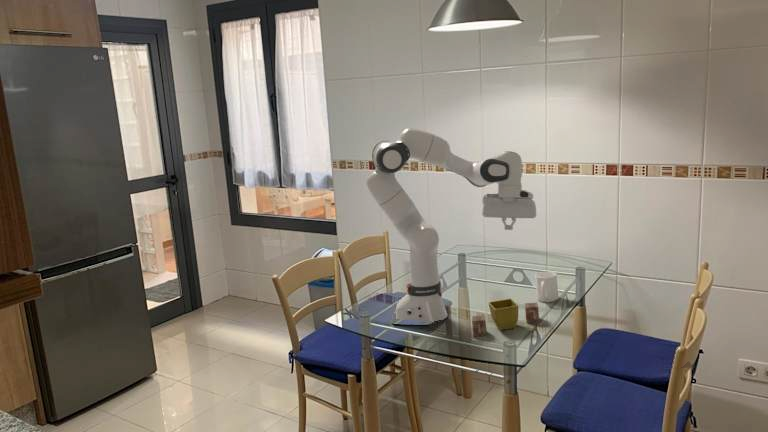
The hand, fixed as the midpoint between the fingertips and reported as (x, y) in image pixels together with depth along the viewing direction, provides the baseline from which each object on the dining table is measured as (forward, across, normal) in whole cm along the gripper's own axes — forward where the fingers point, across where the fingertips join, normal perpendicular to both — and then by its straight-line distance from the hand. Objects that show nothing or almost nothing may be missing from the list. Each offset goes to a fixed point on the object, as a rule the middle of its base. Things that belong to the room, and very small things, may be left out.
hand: (508, 229), depth 224 cm
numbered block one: (+38, -6, -18) cm, 43 cm away
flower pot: (+36, +2, -12) cm, 38 cm away
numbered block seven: (+33, +11, -6) cm, 35 cm away
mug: (+28, +14, +15) cm, 34 cm away
